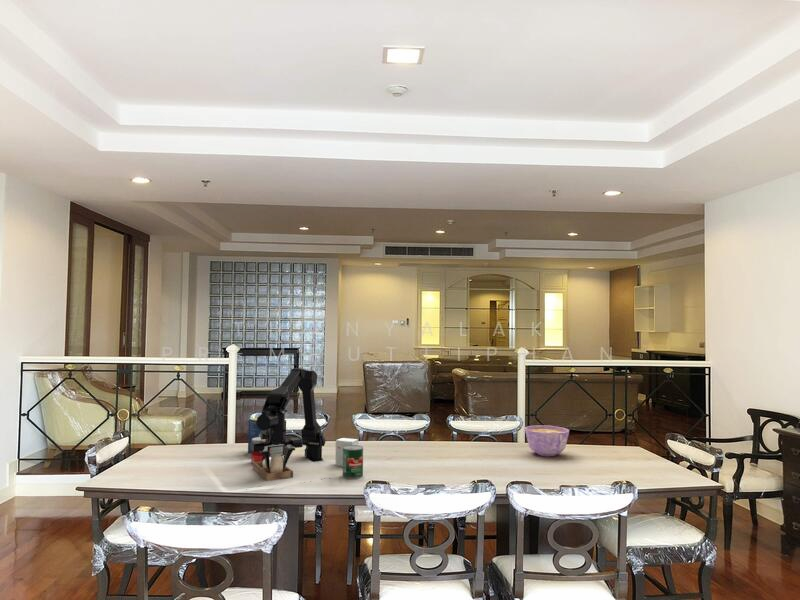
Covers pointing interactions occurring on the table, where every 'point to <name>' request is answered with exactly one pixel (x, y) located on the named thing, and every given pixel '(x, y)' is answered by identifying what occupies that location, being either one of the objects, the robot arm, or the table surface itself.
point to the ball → (265, 463)
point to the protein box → (256, 432)
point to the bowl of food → (546, 439)
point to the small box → (339, 448)
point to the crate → (272, 476)
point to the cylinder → (276, 463)
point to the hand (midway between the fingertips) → (276, 467)
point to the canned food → (257, 455)
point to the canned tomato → (352, 461)
